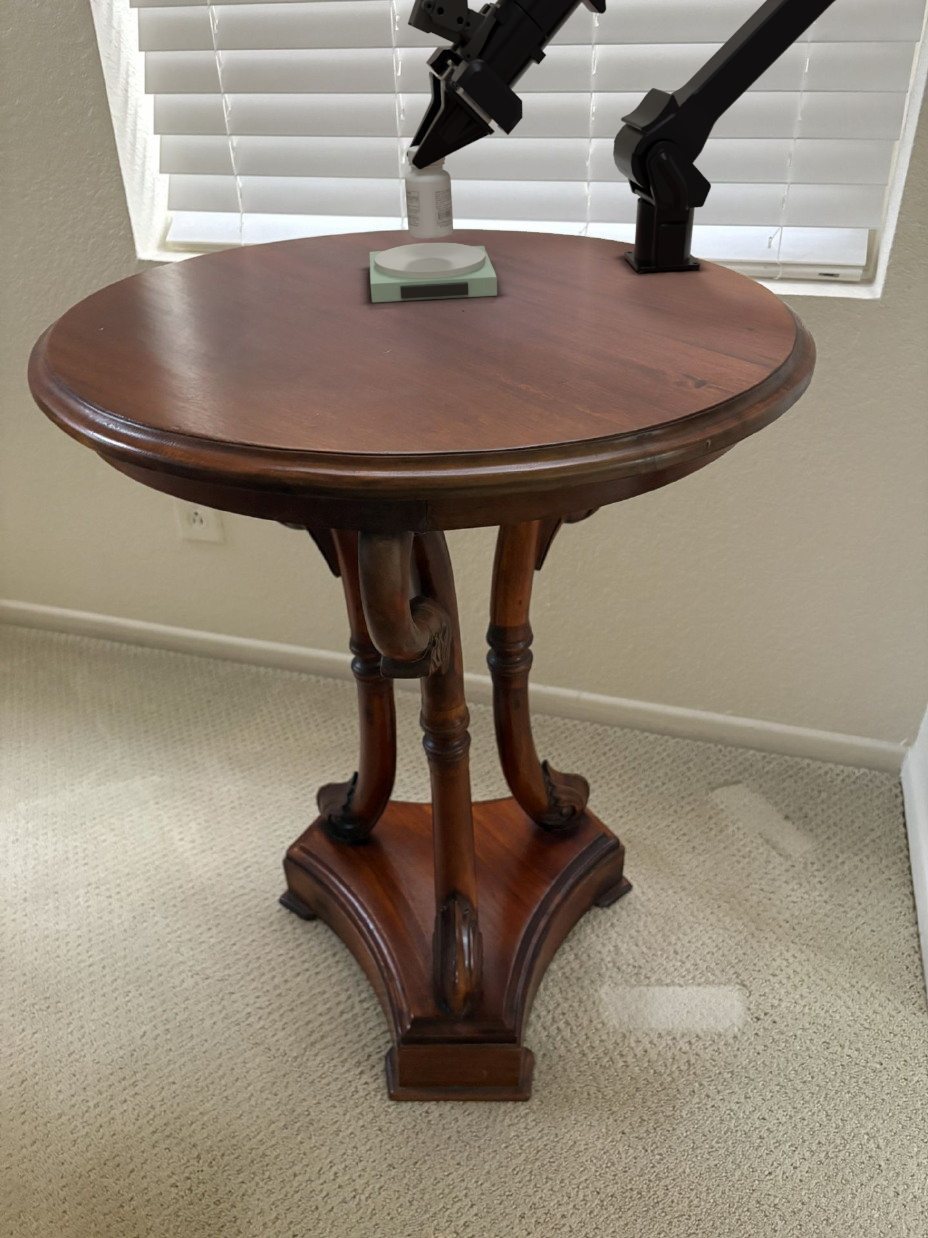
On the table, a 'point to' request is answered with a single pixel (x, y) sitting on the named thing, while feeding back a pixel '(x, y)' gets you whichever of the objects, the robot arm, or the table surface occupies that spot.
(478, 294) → the scale
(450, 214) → the pill bottle
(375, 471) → the table surface
